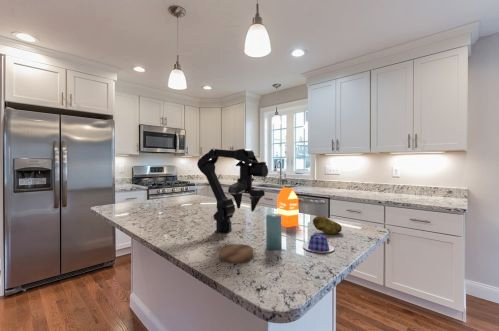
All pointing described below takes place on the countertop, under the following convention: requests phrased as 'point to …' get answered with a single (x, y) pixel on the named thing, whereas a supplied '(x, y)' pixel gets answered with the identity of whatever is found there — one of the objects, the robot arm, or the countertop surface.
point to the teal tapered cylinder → (273, 232)
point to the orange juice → (288, 207)
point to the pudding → (318, 244)
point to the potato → (326, 225)
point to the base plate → (236, 253)
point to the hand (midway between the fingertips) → (245, 209)
